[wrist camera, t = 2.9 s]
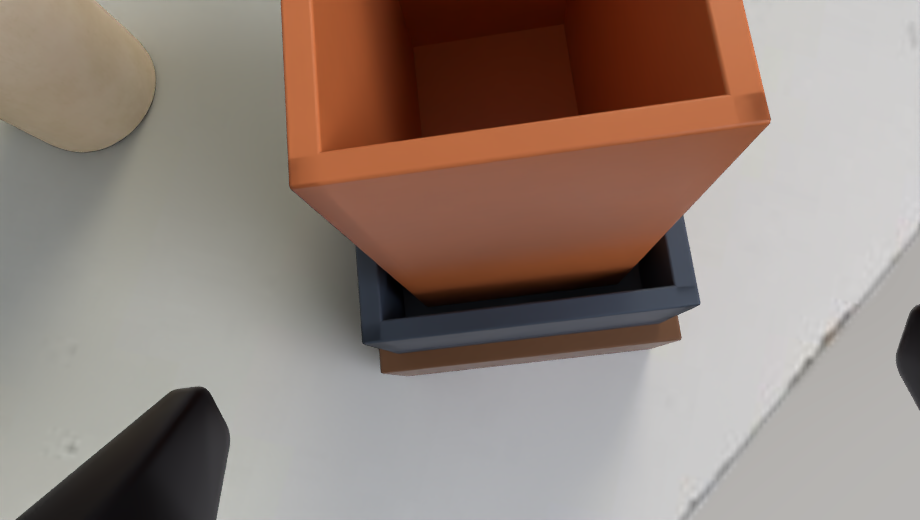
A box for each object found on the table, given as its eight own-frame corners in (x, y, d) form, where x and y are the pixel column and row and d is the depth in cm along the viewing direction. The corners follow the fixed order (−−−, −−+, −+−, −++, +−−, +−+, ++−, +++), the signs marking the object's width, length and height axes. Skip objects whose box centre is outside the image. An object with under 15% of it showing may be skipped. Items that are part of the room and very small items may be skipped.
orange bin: (618, 284, 16) (773, 123, 6) (426, 307, 16) (288, 189, 7) (574, 20, 18) (640, -432, 8) (401, 46, 18) (263, -354, 8)
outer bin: (651, 349, 20) (730, 325, 13) (406, 376, 21) (341, 369, 13) (599, 52, 23) (639, -118, 15) (381, 84, 23) (314, -63, 16)
